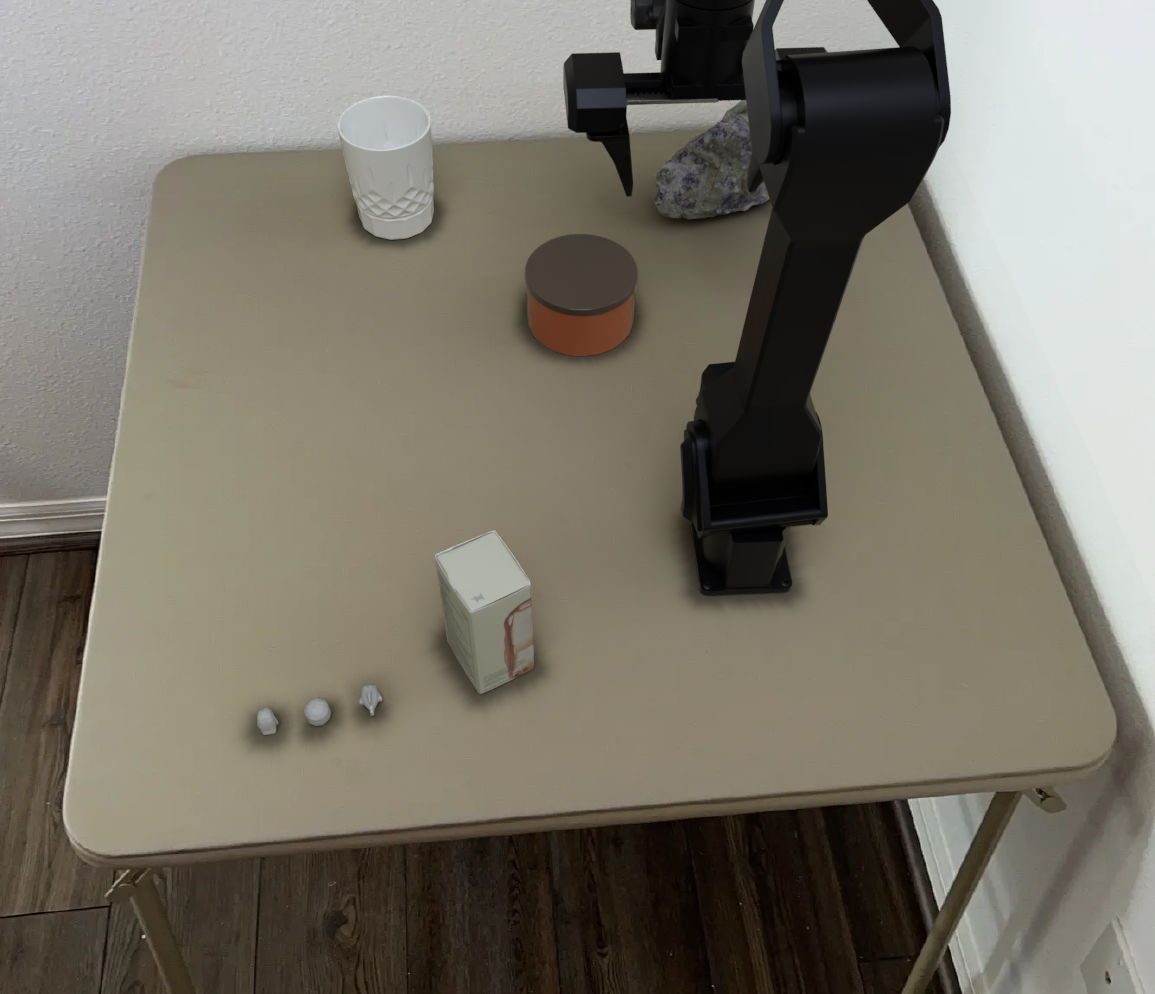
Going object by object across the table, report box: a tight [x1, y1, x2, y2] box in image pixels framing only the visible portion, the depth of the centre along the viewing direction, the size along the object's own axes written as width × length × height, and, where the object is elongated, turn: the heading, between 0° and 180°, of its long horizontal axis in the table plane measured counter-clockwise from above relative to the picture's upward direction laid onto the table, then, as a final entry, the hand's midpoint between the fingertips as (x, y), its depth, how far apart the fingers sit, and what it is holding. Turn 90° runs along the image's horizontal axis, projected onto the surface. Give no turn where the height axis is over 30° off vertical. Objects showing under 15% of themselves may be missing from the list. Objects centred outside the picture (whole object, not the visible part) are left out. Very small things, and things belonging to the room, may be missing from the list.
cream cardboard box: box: [434, 529, 535, 695], centre depth 72 cm, size 5×4×10 cm
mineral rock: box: [654, 100, 770, 220], centre depth 102 cm, size 13×11×10 cm
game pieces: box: [256, 684, 383, 736], centre depth 73 cm, size 8×2×2 cm, turn 102°
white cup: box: [336, 94, 435, 241], centre depth 100 cm, size 8×8×10 cm
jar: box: [524, 233, 639, 357], centre depth 94 cm, size 9×9×5 cm
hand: (689, 191), depth 85 cm, fingers open, 9 cm apart
